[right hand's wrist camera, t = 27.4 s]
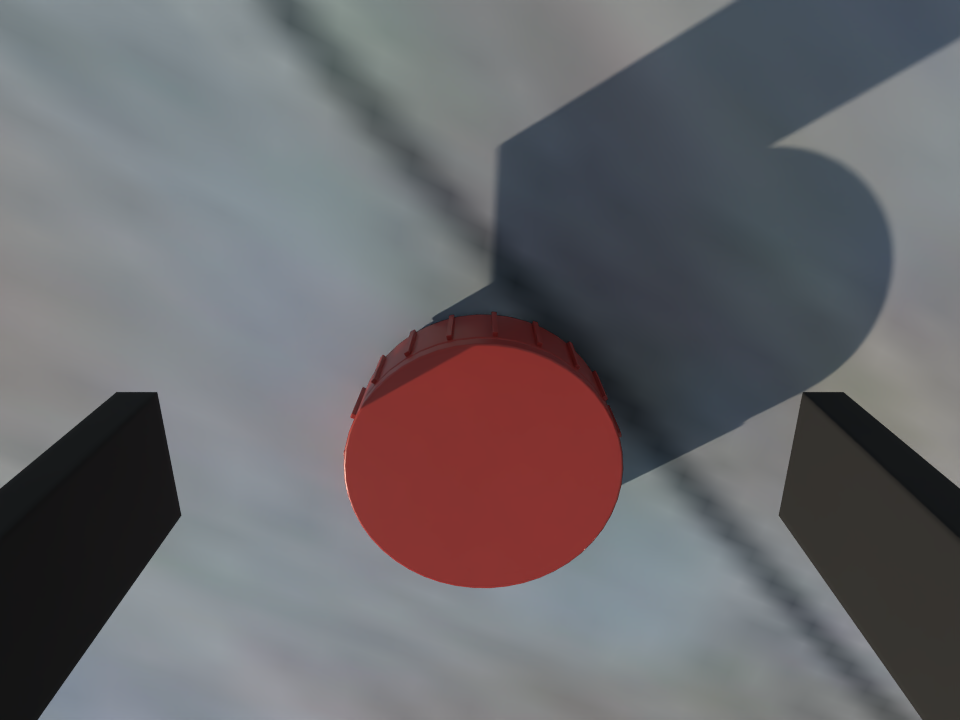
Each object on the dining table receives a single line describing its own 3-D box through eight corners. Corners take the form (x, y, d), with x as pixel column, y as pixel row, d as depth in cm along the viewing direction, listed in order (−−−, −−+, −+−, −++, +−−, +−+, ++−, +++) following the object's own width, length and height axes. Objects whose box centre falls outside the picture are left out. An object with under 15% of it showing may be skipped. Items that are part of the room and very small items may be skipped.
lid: (470, 576, 17) (468, 633, 15) (305, 418, 15) (281, 461, 13) (659, 444, 15) (682, 489, 14) (498, 256, 14) (501, 279, 12)
